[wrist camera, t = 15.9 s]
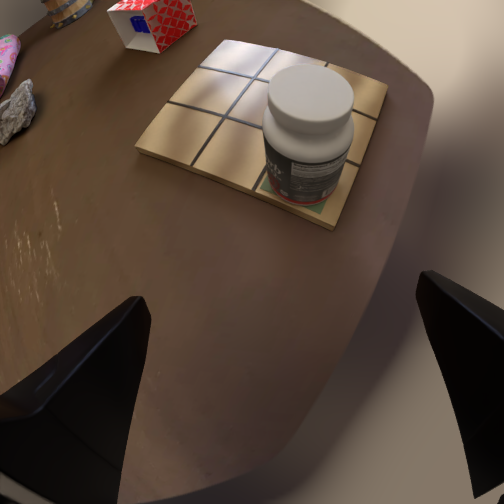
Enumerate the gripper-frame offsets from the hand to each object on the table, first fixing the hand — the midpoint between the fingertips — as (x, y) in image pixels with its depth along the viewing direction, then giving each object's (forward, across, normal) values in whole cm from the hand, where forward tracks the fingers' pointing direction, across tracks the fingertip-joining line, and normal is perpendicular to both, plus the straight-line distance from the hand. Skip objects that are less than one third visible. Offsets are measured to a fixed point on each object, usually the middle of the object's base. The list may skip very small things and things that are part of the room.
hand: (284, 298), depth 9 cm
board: (+23, -1, -4) cm, 23 cm away
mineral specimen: (+31, +38, -12) cm, 51 cm away
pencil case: (+46, +55, -26) cm, 76 cm away
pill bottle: (+16, -3, +1) cm, 17 cm away
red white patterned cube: (+37, +13, -18) cm, 43 cm away
